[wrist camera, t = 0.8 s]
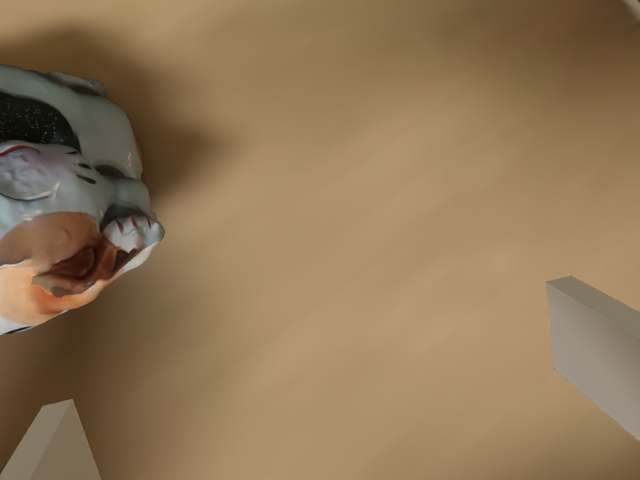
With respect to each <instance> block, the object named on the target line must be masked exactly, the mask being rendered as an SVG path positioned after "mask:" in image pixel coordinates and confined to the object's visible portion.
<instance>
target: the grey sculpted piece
mask: <svg viewBox="0 0 640 480" xmlns="http://www.w3.org/2000/svg"><path fill="white" fill-rule="evenodd" d="M105 93H106V89H105V87H104V86H103V84H102V83H100V82H99V81H98V80H97V79H84V78H80V77H77V76H73V75H70V74H67V73H64V72H49V73H46V74H42V73H39V72H37V71H34V70H29V71H26V70H23V69H22V68H20V67H15V66H9V65H4V64H0V335H2V334H12V333H17V332H22V331H26V330H29V329H31V328H33V327H35V326H37V325H39V324H42V323H45V322H46V321H48V320H49V319H51V318H54V317H56V316H58V315H60V314H63V313H65V312H66V311H68V310H69V309H74V308H78V307H81V306H83V305H85V304H88V303H90V302H91V301H93V300H95V299H96V298H97V296H98V295H99V294H100V292H101V291H102V290H103V289H104V288H105V287H106V286H107V285H109V284H110V283H111V282H113V281H114V280H115V279H117V278H118V277H119V276H121V275H122V274H123V273H125V272H127V271H129V270H131V269H133V268H136V267H139V266H140V265H141V264H142V263H143V262H144V261H145V260H146V259H147V258H148V257H149V256H150V254H151V252H152V249H153V248H154V246H155V245H156V244H157V243H158V242H159V241H160V240H162V238H163V237H164V234H165V230H164V228H163V226H162V225H161V224H160V222H159V221H157V217H156V214H155V213H154V212H152V211H151V209H150V202H151V201H150V198H149V195H150V194H149V191H148V188H147V186H146V185H145V184H144V182H142V181H141V173H142V171H143V158H142V149H141V146H140V144H139V142H138V140H137V138H136V136H135V134H134V130H133V127H132V124H131V122H130V120H129V118H128V117H127V115H126V114H125V111H124V110H123V109H122V108H121V107H120V106H118V105H116V104H114V103H113V102H111V101H109V100H107V99H105Z"/></svg>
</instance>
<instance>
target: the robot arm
mask: <svg viewBox="0 0 640 480" xmlns="http://www.w3.org/2000/svg"><path fill="white" fill-rule="evenodd" d="M546 291H547V302H548V313H549V324H550V334H551V345H552V356H553V367H554V370H556V371H557V372H558V373H559V374H560V375H561V376H563V377H564V378H565V379H566V380H567V381H569V382H570V383H571V384H572V385H573V386H574V387H576V388H577V389H578V390H579V391H580V392H582V393H583V394H584V395H585V396H586V397H587V398H589V399H590V400H591V401H592V402H593V403H594V404H596V405H597V406H598V407H599V408H600V409H602V410H603V411H604V412H605V413H606V414H607V415H609V416H610V417H611V418H612V419H613V420H615V421H616V422H617V423H618V424H619V425H620V426H622V427H623V428H624V429H625V430H626V431H627V432H629V433H630V434H631V435H632V436H633V437H635V438H636V439H637V440H638V441H639V442H640V312H639V311H637V310H635V309H633V308H631V307H629V306H627V305H625V304H623V303H622V302H620V301H618V300H616V299H614V298H612V297H610V296H608V295H606V294H605V293H603V292H601V291H599V290H597V289H595V288H593V287H591V286H589V285H588V284H586V283H584V282H582V281H580V280H578V279H576V278H574V277H572V276H568V277H564V278H560V279H556V280H552V281H548V282H546ZM0 480H101V477H100V474H99V472H98V469H97V466H96V463H95V460H94V458H93V455H92V452H91V449H90V446H89V444H88V441H87V438H86V435H85V432H84V430H83V427H82V424H81V421H80V418H79V415H78V413H77V410H76V407H75V404H74V401H73V399H70V400H65V401H61V402H57V403H53V404H49V405H45V406H42V408H41V409H40V411H39V413H38V414H37V416H36V418H35V419H34V421H33V422H32V424H31V426H30V427H29V429H28V430H27V432H26V434H25V435H24V437H23V439H22V440H21V442H20V443H19V445H18V447H17V448H16V450H15V452H14V453H13V455H12V456H11V458H10V460H9V461H8V463H7V464H6V466H5V468H4V469H3V471H2V473H1V474H0Z"/></svg>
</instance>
